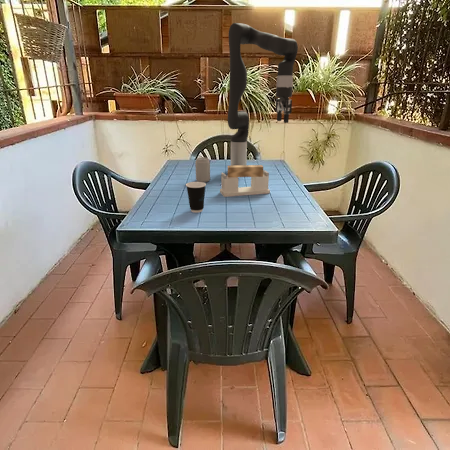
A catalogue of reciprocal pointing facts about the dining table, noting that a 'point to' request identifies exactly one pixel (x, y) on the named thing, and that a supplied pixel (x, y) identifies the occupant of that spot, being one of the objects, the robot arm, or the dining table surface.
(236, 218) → the dining table surface
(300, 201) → the dining table surface
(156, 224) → the dining table surface
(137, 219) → the dining table surface
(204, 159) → the can
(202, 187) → the dixie cup
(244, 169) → the bar
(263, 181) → the display stand
